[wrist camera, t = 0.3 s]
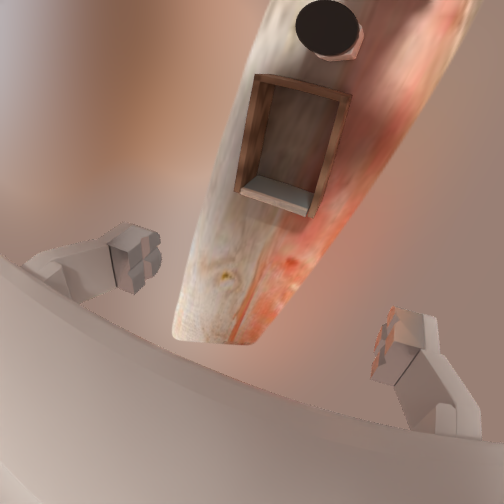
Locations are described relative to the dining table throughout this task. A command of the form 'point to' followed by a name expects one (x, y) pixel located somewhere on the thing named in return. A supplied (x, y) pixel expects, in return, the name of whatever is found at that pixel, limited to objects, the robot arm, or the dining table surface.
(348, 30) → the jar
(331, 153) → the crate
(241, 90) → the dining table surface
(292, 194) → the panel
